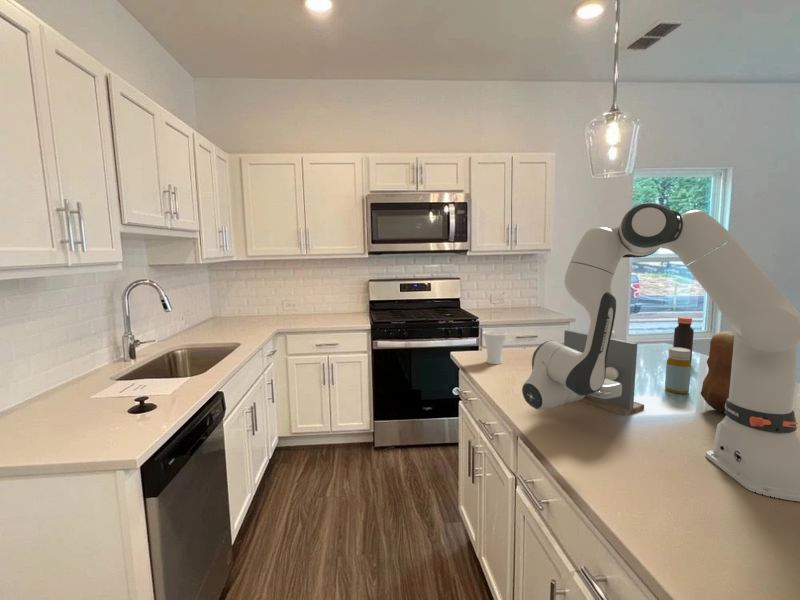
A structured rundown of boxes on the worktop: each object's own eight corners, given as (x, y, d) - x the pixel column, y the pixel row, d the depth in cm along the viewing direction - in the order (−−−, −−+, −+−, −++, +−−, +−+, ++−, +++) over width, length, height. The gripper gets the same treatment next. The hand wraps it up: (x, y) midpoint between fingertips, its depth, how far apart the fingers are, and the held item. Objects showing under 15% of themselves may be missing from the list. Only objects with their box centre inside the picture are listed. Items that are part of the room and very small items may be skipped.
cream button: (613, 382, 123) (614, 369, 123) (601, 378, 126) (602, 366, 126) (618, 381, 124) (619, 368, 124) (606, 377, 128) (606, 365, 127)
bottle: (692, 395, 139) (696, 352, 137) (669, 393, 141) (673, 351, 139) (683, 388, 146) (686, 347, 144) (661, 387, 147) (664, 346, 146)
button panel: (625, 416, 123) (629, 344, 120) (558, 392, 143) (560, 331, 140) (643, 409, 128) (648, 340, 125) (576, 387, 148) (579, 327, 145)
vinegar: (668, 362, 179) (671, 317, 176) (679, 360, 181) (683, 316, 178) (683, 366, 172) (686, 319, 170) (695, 364, 174) (698, 318, 172)
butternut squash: (752, 410, 126) (760, 330, 123) (763, 426, 115) (772, 339, 112) (697, 401, 133) (703, 326, 130) (702, 416, 122) (709, 334, 119)
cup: (481, 364, 178) (481, 334, 176) (483, 358, 188) (483, 329, 186) (505, 366, 175) (506, 335, 173) (506, 360, 185) (507, 330, 183)
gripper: (605, 384, 106) (635, 375, 113) (541, 366, 124) (571, 359, 131) (603, 408, 107) (634, 397, 114) (541, 386, 124) (570, 378, 131)
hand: (600, 377), depth 122 cm, fingers closed
